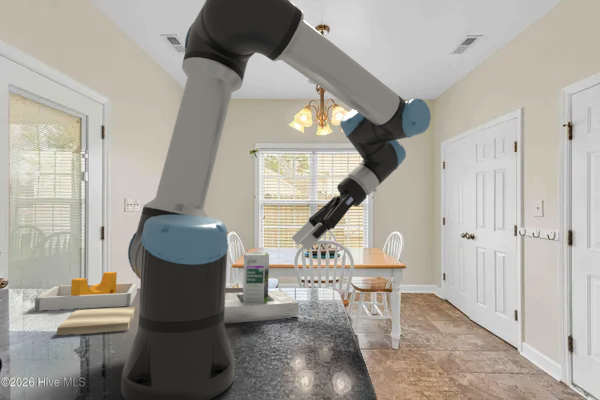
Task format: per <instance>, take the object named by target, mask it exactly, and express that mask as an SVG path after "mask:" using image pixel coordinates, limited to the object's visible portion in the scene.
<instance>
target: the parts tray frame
mask: <svg viewBox="0 0 600 400" xmlns="http://www.w3.org/2000/svg"><path fill="white" fill-rule="evenodd" d="M96 284H97V283H91V284H89V283H88V286H89V288H90V287H92V285H96ZM137 294H138V282H119V283H117V282H116V294H95V295H73V296H70V295H71V284H67V285H66V284H64V285H62V284H61V285H54V286H53V287H52V288H50V289H48V290H45V291H44V292H43V293H41V294H40V295H38V296H36V297H35V299H34V310H33V311H34V312H42V310H48V311H61V310H60V309H65V310H71V309H70V308H79V309H78V310H84V309H101V308H119V307H131V305H132V303H133V301H134V299H135V298H136V296H137Z"/></svg>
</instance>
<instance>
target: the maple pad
mask: <svg viewBox="0 0 600 400" xmlns="http://www.w3.org/2000/svg"><path fill="white" fill-rule="evenodd" d="M135 315H136V306H121V307H104V308H87V309H75V311H73V312H72V314H70V315H69V317H67V318H66V319H65V320H64V321H62V322H61V324H60V325H59V326H57V328H56V329H57V330H56V333H57V334H56V336H57V335H62V336H66V335H65V334H75V335H86V334H96V333H97V334H99V333H111V332H124V331H128V330H129V328H130V326H131V324H132V322H133V320H134V318H135Z"/></svg>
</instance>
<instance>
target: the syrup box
mask: <svg viewBox="0 0 600 400" xmlns="http://www.w3.org/2000/svg"><path fill="white" fill-rule="evenodd" d="M243 256H244V257H243V284H242V287H243V289H242V292H243V303H253V302H268V291H269V273H270V271H269V269H270V267H269V266H270V254H269V253H268V252H257V251H255V252H253V251H251V252H250V251H249V252H247V251H246V252H244V254H243Z"/></svg>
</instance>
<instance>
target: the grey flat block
mask: <svg viewBox="0 0 600 400" xmlns="http://www.w3.org/2000/svg"><path fill="white" fill-rule="evenodd" d="M299 306H300V305H299V301H297V300H296V299H295V298H293V297H292V296H291V295H290V294H288V293H287V292H285V290H284V289H282V290H280V289H278V290H268V302H253V303H243V291H242V292H241V291H240V292H225V310H224V325H225V324H236V323H246V322H247V323H248V322H259V321H273V320H285V319H284V318H288V319H292V318H291V317H298V318H299Z"/></svg>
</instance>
